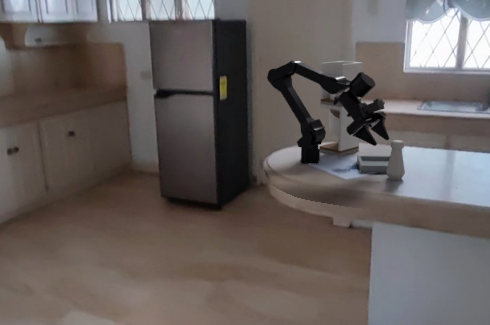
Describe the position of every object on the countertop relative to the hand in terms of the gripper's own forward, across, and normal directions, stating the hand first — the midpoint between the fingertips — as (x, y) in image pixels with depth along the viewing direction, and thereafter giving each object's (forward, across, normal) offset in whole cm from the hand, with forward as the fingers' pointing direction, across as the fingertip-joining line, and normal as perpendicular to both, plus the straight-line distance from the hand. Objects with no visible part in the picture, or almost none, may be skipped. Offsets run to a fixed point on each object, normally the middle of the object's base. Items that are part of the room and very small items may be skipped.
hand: (382, 142), depth 168 cm
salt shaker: (+12, 0, +5) cm, 13 cm away
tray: (+4, +9, +12) cm, 15 cm away
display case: (-11, +20, +28) cm, 36 cm away
